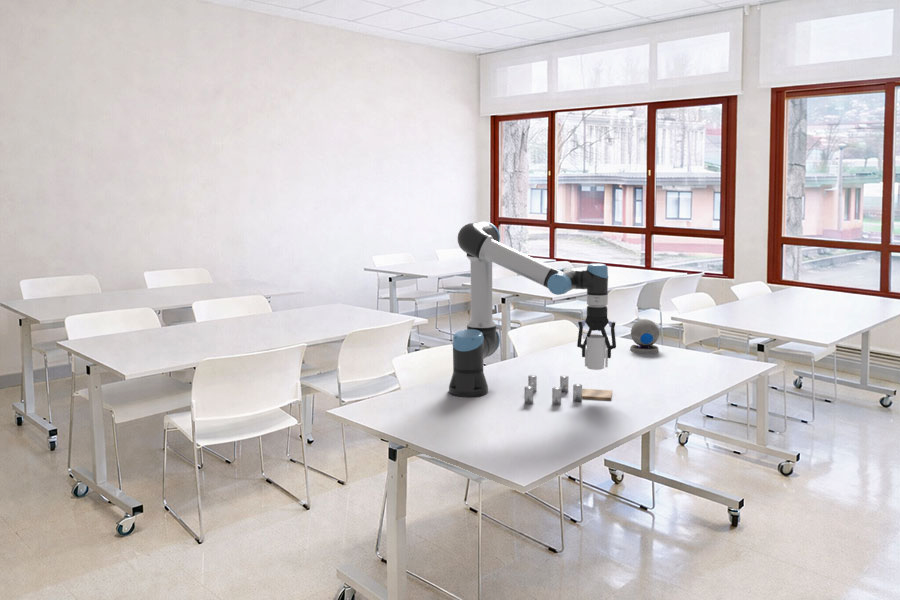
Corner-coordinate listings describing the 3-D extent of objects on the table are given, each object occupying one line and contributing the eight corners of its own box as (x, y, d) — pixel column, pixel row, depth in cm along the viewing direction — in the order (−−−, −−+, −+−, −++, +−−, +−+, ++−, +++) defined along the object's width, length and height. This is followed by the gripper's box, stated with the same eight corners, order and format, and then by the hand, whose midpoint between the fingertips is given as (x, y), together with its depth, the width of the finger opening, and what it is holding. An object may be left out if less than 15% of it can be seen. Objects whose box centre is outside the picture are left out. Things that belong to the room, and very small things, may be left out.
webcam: (655, 347, 360) (657, 317, 358) (660, 353, 348) (661, 322, 346) (628, 347, 362) (629, 317, 359) (632, 353, 349) (633, 322, 347)
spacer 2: (523, 404, 272) (523, 388, 271) (525, 401, 275) (525, 386, 274) (532, 404, 271) (532, 388, 270) (533, 402, 274) (533, 386, 273)
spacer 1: (527, 392, 288) (527, 377, 287) (528, 389, 291) (528, 374, 290) (535, 392, 287) (536, 377, 286) (537, 390, 290) (537, 375, 289)
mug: (597, 371, 274) (597, 339, 272) (582, 368, 279) (582, 336, 277) (613, 366, 281) (614, 335, 279) (599, 363, 286) (599, 332, 284)
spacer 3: (551, 405, 271) (551, 389, 270) (552, 402, 274) (552, 386, 273) (560, 405, 270) (560, 389, 269) (561, 403, 273) (561, 387, 272)
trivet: (578, 398, 279) (578, 395, 278) (580, 391, 288) (580, 388, 288) (610, 400, 276) (610, 397, 275) (612, 392, 285) (612, 390, 285)
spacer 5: (572, 401, 275) (572, 385, 274) (573, 399, 278) (573, 383, 277) (581, 402, 274) (581, 386, 273) (582, 399, 277) (582, 384, 276)
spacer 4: (559, 392, 287) (559, 377, 286) (560, 390, 290) (560, 375, 289) (567, 393, 286) (568, 377, 285) (568, 390, 289) (568, 375, 288)
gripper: (569, 306, 275) (568, 367, 279) (624, 307, 270) (623, 369, 274) (571, 303, 282) (570, 362, 286) (624, 304, 277) (623, 364, 281)
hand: (596, 365), depth 280 cm, fingers closed on mug, 7 cm apart
